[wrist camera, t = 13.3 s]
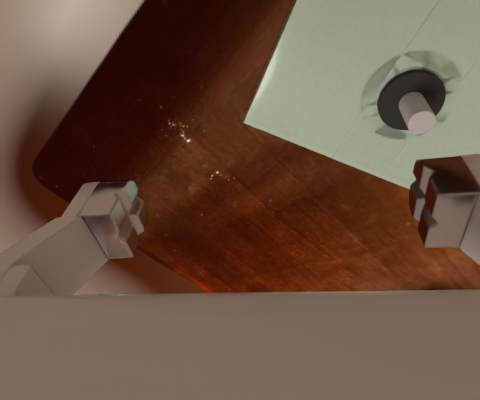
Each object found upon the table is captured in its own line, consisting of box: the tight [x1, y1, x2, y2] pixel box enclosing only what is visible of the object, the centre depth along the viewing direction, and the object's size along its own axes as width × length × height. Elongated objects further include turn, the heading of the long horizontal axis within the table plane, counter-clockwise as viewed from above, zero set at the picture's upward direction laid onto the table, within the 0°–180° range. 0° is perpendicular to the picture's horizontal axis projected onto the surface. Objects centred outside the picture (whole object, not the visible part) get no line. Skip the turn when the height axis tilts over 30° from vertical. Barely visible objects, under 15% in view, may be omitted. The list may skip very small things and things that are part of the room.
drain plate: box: [244, 0, 480, 189], centre depth 31 cm, size 24×16×2 cm, turn 69°
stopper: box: [377, 70, 446, 134], centre depth 30 cm, size 5×5×6 cm
